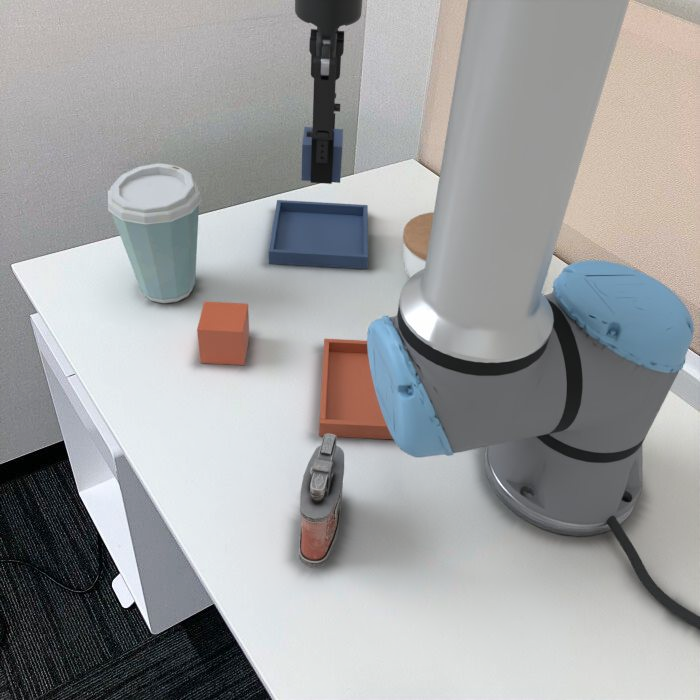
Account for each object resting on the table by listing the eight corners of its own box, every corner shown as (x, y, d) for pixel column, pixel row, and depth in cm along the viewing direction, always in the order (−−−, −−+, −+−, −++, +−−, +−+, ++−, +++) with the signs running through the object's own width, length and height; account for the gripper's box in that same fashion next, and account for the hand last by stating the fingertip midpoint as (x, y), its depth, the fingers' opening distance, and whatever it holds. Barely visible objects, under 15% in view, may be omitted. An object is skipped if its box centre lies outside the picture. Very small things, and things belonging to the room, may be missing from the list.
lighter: (329, 570, 65) (334, 502, 58) (292, 563, 65) (293, 495, 59) (345, 497, 71) (352, 428, 64) (311, 491, 71) (314, 421, 65)
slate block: (340, 183, 95) (342, 147, 92) (301, 180, 95) (302, 144, 92) (340, 164, 99) (343, 129, 95) (303, 161, 99) (304, 126, 95)
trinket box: (482, 311, 94) (496, 250, 88) (398, 306, 94) (406, 244, 87) (474, 262, 102) (486, 203, 96) (396, 257, 102) (403, 198, 95)
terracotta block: (244, 365, 84) (242, 332, 81) (200, 363, 84) (196, 329, 81) (249, 336, 88) (248, 303, 84) (207, 334, 88) (204, 301, 84)
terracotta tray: (445, 442, 77) (447, 429, 76) (318, 436, 77) (319, 423, 75) (435, 356, 87) (437, 344, 86) (323, 351, 87) (324, 338, 85)
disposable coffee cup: (172, 325, 88) (157, 217, 78) (104, 294, 92) (82, 187, 82) (226, 281, 95) (218, 177, 85) (161, 254, 99) (146, 151, 89)
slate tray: (367, 269, 99) (368, 256, 98) (268, 263, 99) (268, 251, 97) (366, 216, 109) (367, 204, 108) (277, 211, 109) (277, 199, 107)
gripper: (300, -46, 88) (297, 137, 103) (289, 4, 74) (288, 205, 90) (363, -41, 88) (351, 140, 103) (363, 9, 74) (349, 209, 90)
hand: (322, 170), depth 97 cm, fingers closed on slate block, 5 cm apart
